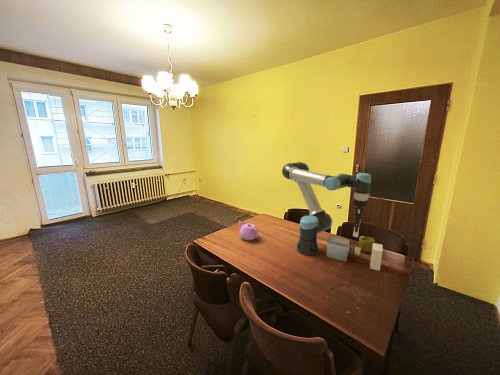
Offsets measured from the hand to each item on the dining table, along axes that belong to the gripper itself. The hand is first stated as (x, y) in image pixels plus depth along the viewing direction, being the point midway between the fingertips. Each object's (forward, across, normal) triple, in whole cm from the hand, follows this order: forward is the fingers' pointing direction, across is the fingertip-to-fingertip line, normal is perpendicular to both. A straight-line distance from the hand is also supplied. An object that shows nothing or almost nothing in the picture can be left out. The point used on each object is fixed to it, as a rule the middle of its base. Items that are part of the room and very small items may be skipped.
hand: (356, 232), depth 129 cm
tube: (+14, -1, +5) cm, 15 cm away
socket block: (+18, -2, -12) cm, 22 cm away
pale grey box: (+19, -1, +9) cm, 21 cm away
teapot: (+20, -6, +74) cm, 77 cm away
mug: (+19, +19, -6) cm, 27 cm away
